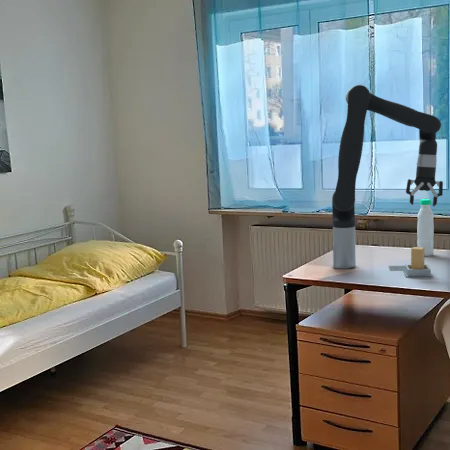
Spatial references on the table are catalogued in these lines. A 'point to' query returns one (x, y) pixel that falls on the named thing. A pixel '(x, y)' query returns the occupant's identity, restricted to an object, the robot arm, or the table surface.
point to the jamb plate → (397, 268)
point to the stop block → (417, 257)
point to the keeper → (417, 272)
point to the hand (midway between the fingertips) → (422, 205)
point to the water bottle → (425, 227)
